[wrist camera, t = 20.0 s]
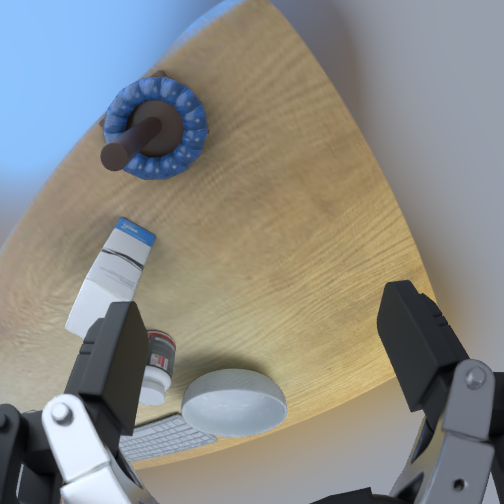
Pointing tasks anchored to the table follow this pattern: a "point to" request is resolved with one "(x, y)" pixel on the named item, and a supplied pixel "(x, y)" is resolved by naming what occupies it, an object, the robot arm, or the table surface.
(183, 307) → the table surface
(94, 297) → the ink box
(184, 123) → the blue teething ring
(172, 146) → the stand
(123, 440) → the keyboard
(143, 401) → the pill bottle
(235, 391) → the cereal bowl
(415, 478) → the robot arm
